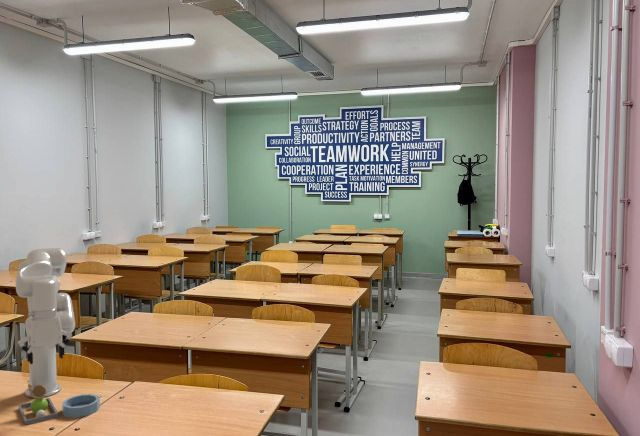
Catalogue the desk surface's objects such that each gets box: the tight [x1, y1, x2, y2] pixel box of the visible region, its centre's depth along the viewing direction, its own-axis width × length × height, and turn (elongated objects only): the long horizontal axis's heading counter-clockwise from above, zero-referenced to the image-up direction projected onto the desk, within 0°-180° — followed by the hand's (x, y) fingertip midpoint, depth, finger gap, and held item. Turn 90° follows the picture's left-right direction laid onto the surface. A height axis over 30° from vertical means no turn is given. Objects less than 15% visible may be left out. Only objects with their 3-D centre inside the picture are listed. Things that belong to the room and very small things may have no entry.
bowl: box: [61, 393, 101, 419], centre depth 186 cm, size 12×12×4 cm
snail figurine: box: [27, 380, 49, 414], centre depth 183 cm, size 5×6×12 cm
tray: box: [18, 397, 59, 426], centre depth 183 cm, size 16×10×2 cm, turn 38°
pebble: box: [35, 410, 46, 418], centre depth 179 cm, size 3×3×3 cm
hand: (46, 360), depth 183 cm, fingers open, 9 cm apart
